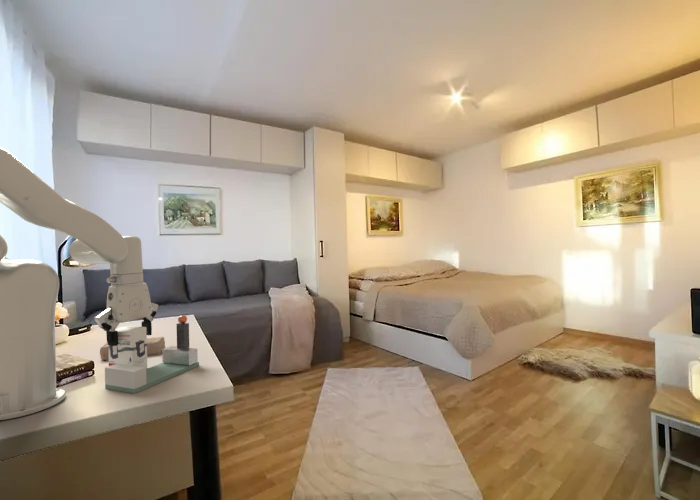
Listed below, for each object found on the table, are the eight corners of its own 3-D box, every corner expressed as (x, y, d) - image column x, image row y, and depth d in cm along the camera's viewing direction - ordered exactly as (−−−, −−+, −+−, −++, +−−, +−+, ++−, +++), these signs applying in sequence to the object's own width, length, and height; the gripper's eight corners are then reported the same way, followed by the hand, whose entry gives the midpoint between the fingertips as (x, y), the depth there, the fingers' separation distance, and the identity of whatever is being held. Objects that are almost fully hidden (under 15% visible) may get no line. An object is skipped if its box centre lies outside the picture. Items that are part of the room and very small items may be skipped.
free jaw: (189, 365, 88) (187, 317, 88) (162, 362, 91) (161, 316, 91) (200, 360, 92) (199, 315, 92) (174, 357, 95) (173, 313, 95)
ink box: (107, 372, 87) (106, 330, 88) (123, 366, 92) (122, 326, 92) (133, 374, 86) (132, 330, 86) (148, 367, 91) (147, 326, 91)
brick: (165, 347, 111) (165, 334, 112) (160, 354, 104) (159, 340, 104) (109, 354, 106) (109, 340, 106) (99, 362, 98) (98, 347, 98)
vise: (134, 393, 73) (133, 371, 73) (105, 388, 77) (104, 367, 77) (199, 365, 91) (198, 348, 91) (173, 362, 95) (172, 345, 95)
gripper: (103, 284, 80) (107, 351, 81) (164, 276, 96) (167, 332, 97) (84, 283, 83) (88, 348, 83) (146, 276, 99) (149, 330, 99)
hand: (130, 339), depth 90 cm, fingers open, 9 cm apart
